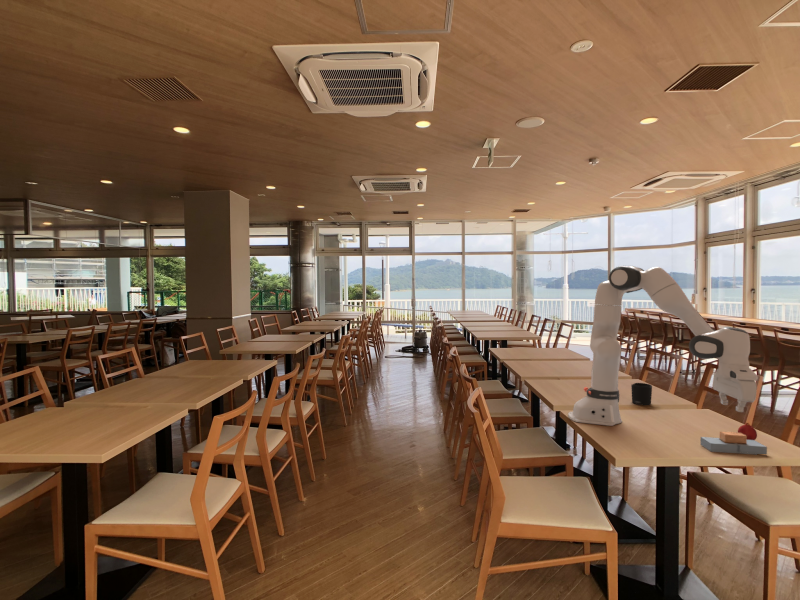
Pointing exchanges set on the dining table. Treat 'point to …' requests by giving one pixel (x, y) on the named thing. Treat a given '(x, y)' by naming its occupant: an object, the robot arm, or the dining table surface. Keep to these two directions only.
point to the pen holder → (641, 393)
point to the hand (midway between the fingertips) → (731, 407)
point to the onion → (748, 431)
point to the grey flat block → (733, 446)
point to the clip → (733, 437)
